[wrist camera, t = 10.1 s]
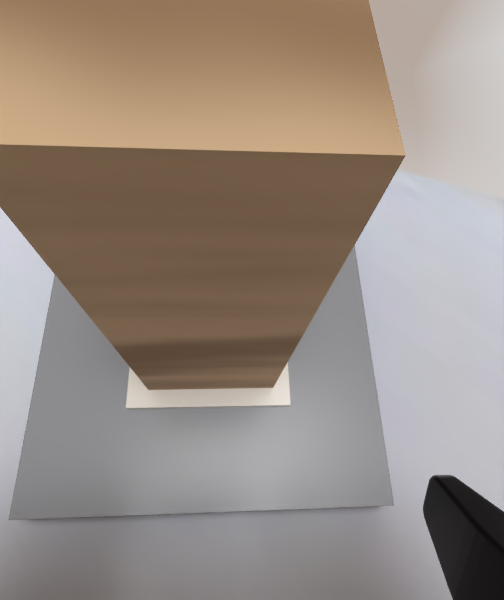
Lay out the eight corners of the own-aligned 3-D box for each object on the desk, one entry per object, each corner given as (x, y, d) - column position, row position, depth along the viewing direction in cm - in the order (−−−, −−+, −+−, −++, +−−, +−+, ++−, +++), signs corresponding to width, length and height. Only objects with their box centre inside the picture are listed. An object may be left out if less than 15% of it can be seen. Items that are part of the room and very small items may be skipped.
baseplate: (379, 503, 17) (397, 505, 15) (27, 516, 16) (4, 520, 14) (340, 219, 22) (349, 199, 21) (79, 215, 21) (67, 193, 20)
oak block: (273, 387, 17) (405, 155, 5) (148, 390, 16) (-52, 143, 4) (267, 278, 19) (349, -79, 7) (156, 278, 18) (35, -102, 6)
